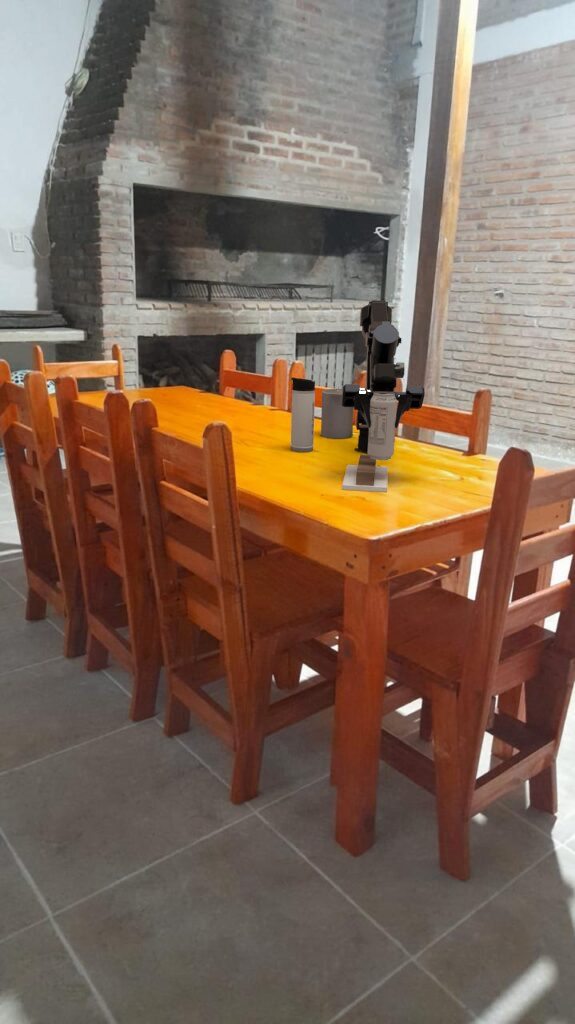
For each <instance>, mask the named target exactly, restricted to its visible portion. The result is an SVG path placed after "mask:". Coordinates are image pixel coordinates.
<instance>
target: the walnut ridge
mask: <svg viewBox="0 0 575 1024" xmlns="http://www.w3.org/2000/svg"><path fill="white" fill-rule="evenodd" d="M357 465H358V467H357V473H356V485H368V486H374V479H375V469H376V466H377V460H374V459H371V458H370V455H369V454H359V458H358V464H357Z"/></svg>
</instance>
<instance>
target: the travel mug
mask: <svg viewBox="0 0 575 1024" xmlns="http://www.w3.org/2000/svg"><path fill="white" fill-rule="evenodd" d="M290 378H291V380H290V381H291V382H292V387H291V419H290V420H291V422H290V423H291V425H290V426H291V427H290V429H291V430H290V450H291V451H292V452H295V453H296V452H297V453H309V452H313V451H314V441H315V440H314V435H315V434H314V433H315V430H314V429H315V405H316V404H315V403H316V393H315V392H316V381H315V380H311V379H306V378H299V377H298V378H297V377H290Z"/></svg>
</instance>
